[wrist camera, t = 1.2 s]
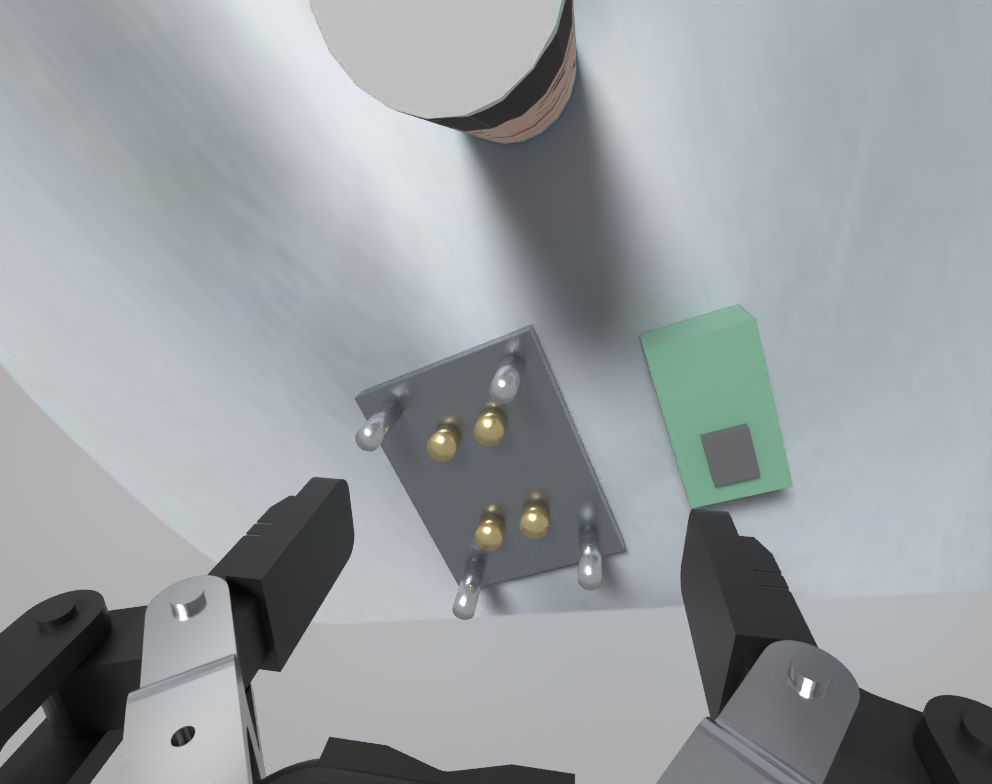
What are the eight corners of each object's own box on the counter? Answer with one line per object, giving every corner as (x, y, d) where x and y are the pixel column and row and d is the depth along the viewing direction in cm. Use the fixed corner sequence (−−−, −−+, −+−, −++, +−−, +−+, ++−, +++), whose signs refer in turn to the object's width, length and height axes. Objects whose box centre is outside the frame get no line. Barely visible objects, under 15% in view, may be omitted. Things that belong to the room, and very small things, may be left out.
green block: (638, 333, 31) (645, 355, 28) (737, 302, 30) (758, 321, 26) (681, 477, 34) (692, 514, 31) (772, 455, 33) (796, 492, 29)
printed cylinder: (440, 138, 29) (309, 108, 15) (447, -16, 26) (294, -222, 12) (567, 149, 28) (550, 129, 14) (586, -7, 25) (589, -216, 12)
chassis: (361, 391, 35) (326, 425, 30) (531, 324, 32) (522, 351, 27) (465, 580, 40) (449, 635, 35) (623, 539, 36) (628, 594, 32)
